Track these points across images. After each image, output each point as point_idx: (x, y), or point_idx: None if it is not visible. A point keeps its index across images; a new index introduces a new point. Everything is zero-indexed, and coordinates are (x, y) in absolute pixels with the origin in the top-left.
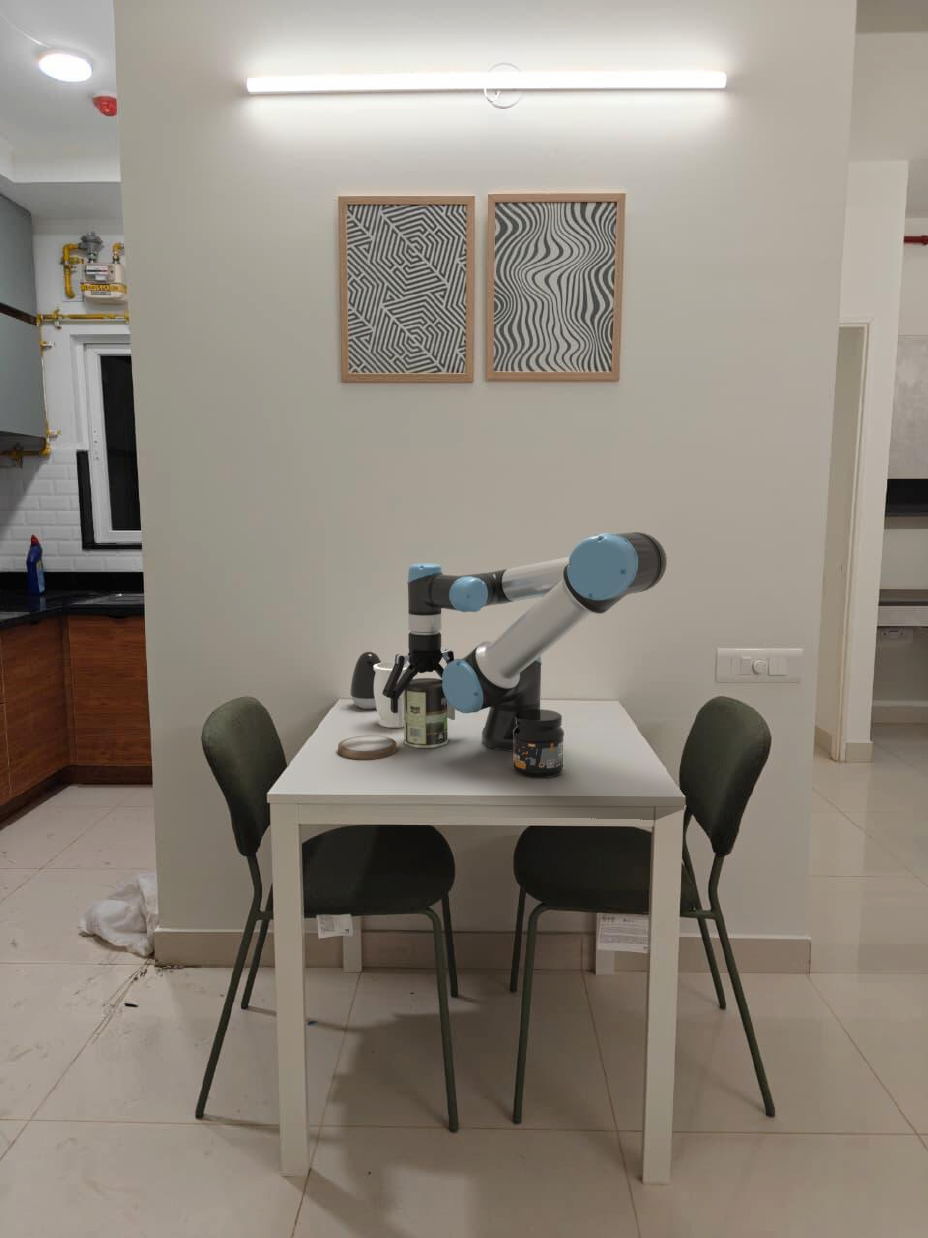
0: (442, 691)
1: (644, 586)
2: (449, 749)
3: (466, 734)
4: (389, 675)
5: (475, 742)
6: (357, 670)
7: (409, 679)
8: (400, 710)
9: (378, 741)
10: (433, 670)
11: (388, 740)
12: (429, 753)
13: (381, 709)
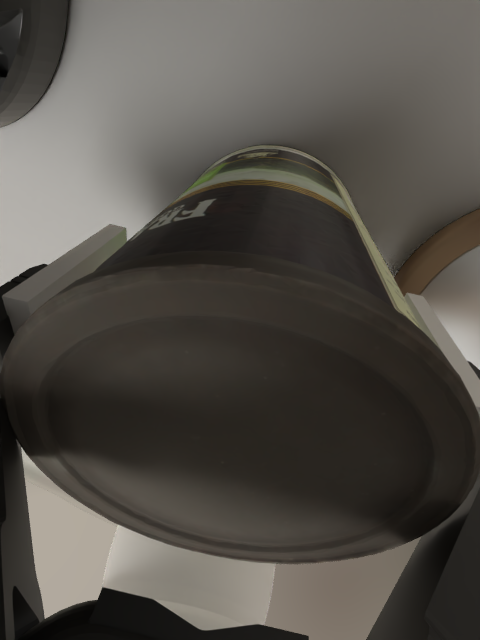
0: (164, 244)
1: None
2: (257, 74)
3: (81, 212)
4: (243, 618)
5: (93, 82)
6: None
7: (477, 585)
8: (452, 351)
9: (469, 311)
10: (79, 611)
11: (432, 296)
12: (375, 89)
13: None
